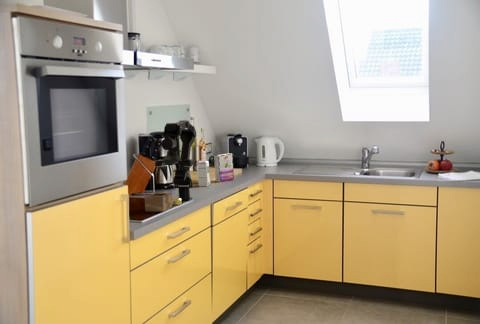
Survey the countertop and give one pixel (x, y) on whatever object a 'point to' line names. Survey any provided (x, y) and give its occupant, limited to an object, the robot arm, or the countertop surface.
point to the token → (176, 201)
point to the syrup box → (203, 173)
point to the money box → (158, 202)
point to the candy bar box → (224, 167)
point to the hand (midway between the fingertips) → (175, 180)
